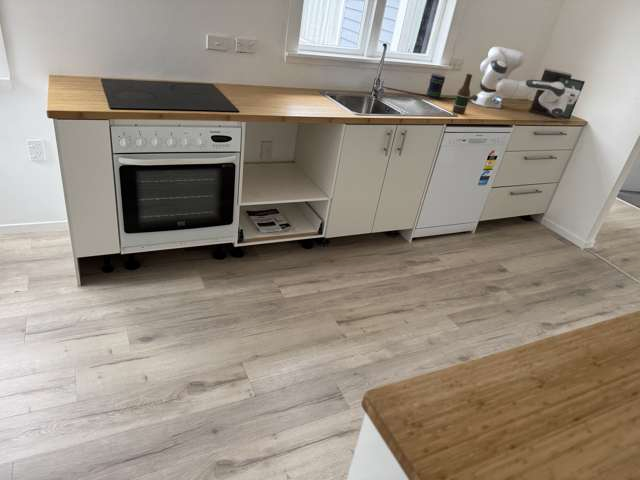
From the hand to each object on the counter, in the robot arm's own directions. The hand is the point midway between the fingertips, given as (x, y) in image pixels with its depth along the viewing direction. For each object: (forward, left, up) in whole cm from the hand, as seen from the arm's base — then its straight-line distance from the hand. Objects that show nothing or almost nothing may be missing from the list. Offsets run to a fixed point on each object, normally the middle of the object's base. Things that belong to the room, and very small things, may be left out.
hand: (565, 84), depth 331 cm
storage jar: (-70, +50, -24) cm, 89 cm away
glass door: (+5, 0, -23) cm, 23 cm away
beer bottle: (-81, +13, -24) cm, 85 cm away
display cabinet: (+9, +15, -24) cm, 30 cm away
